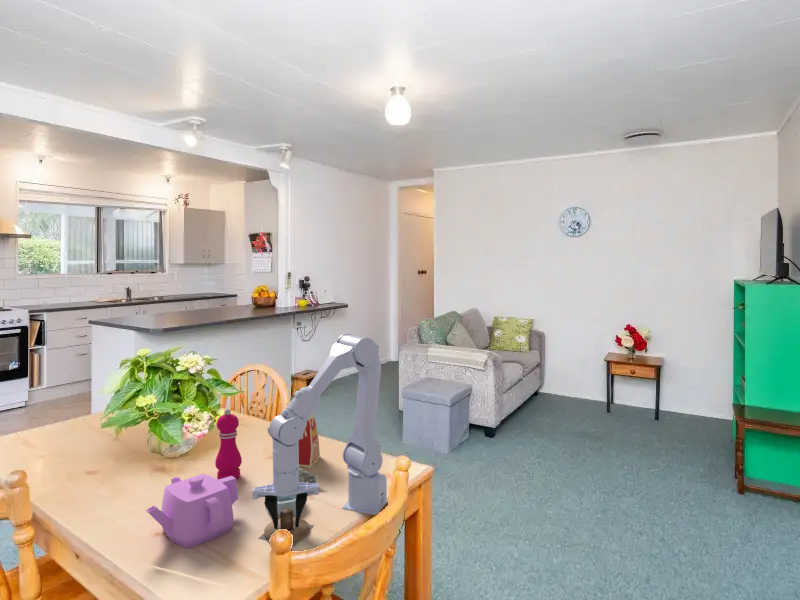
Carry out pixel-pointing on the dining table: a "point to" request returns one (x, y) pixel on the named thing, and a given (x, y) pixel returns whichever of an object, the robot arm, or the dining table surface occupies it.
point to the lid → (288, 526)
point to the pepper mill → (228, 447)
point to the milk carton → (309, 444)
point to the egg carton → (306, 476)
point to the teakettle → (196, 509)
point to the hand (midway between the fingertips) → (286, 525)
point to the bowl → (285, 503)
